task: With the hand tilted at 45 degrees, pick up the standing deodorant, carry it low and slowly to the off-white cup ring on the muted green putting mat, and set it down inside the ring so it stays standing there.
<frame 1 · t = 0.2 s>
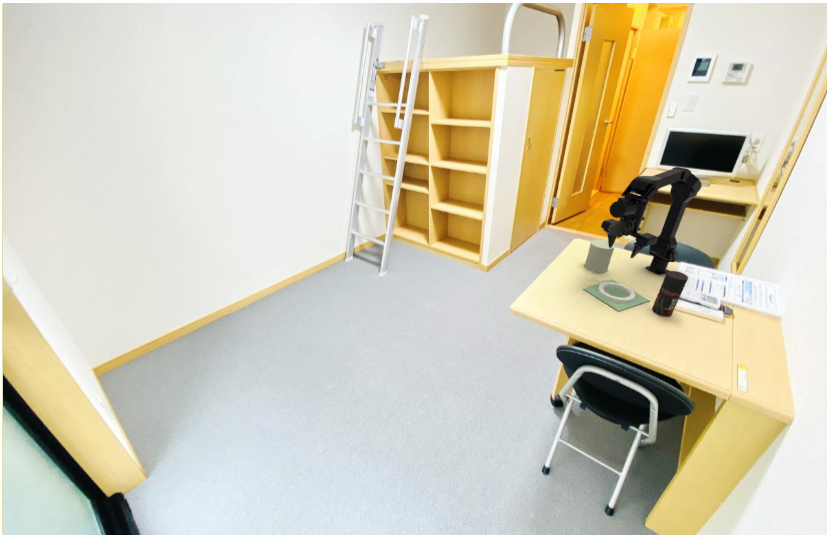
hand: (620, 252, 129), 14 cm above the table, tool pointing down, fingers open, 9 cm apart
putting mat: (615, 295, 130), on the table
deodorant: (661, 312, 121), on the table
can: (595, 268, 149), on the table
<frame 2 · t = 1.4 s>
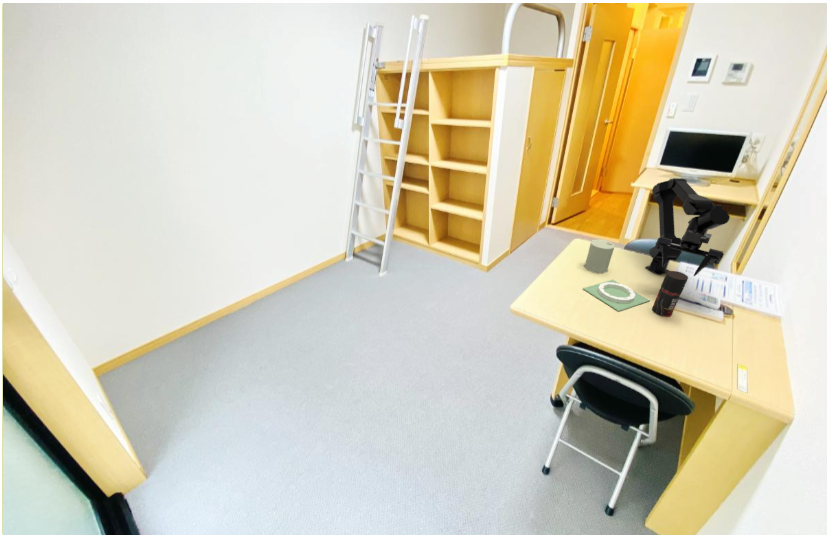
hand: (678, 271, 120), 13 cm above the table, tool tilted 45°, fingers open, 9 cm apart
nothing on the table moved.
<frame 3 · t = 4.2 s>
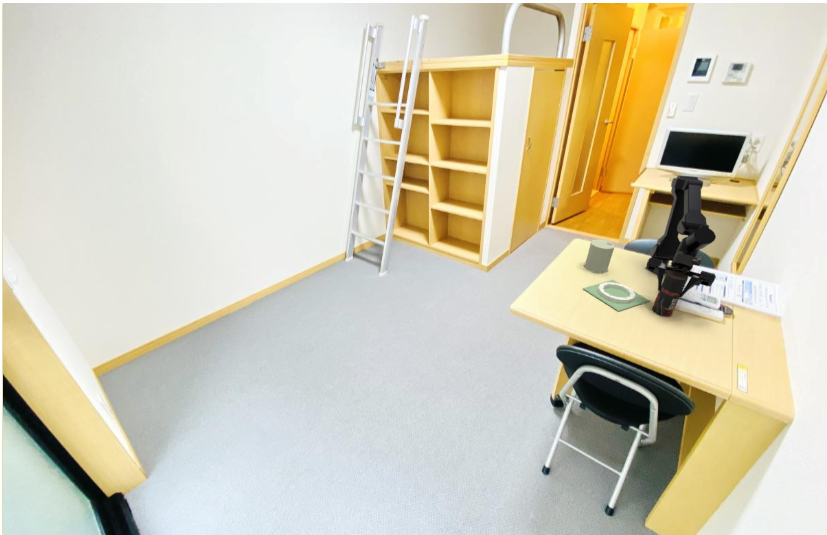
hand: (669, 293, 116), 8 cm above the table, tool tilted 45°, fingers closed on deodorant, 6 cm apart
deodorant: (661, 312, 121), on the table, touching gripper
everything else where it was.
when the fingers open (10 cm above the table, at t = 10.3 s): deodorant stays where it is, resting on putting mat.
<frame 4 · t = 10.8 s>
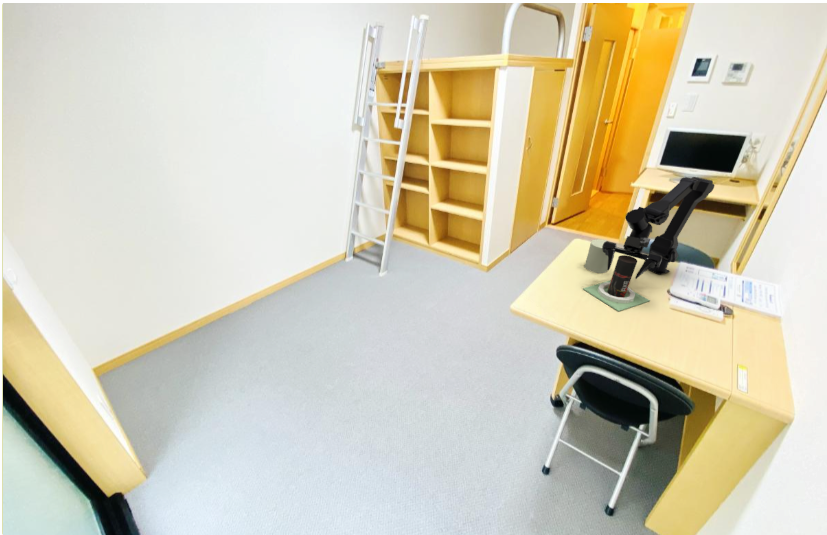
hand: (621, 274, 124), 10 cm above the table, tool tilted 45°, fingers open, 9 cm apart
deodorant: (615, 294, 130), resting on putting mat
everything else where it was.
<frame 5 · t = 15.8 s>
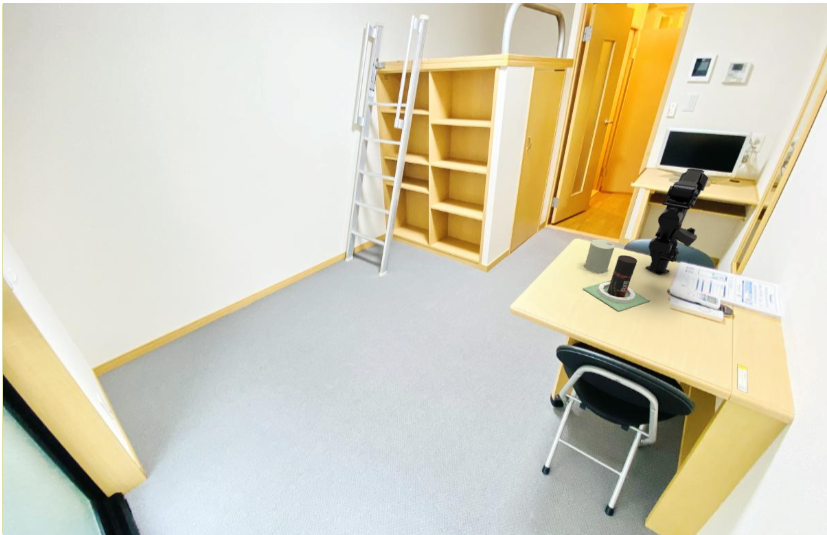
hand: (656, 259, 127), 13 cm above the table, tool pointing down, fingers open, 9 cm apart
nothing on the table moved.
at the end: deodorant 0.2 cm off-centre on the putting mat, point 0.3 cm above the putting mat's base; deodorant tilted 0°; the gripper is holding nothing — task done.
